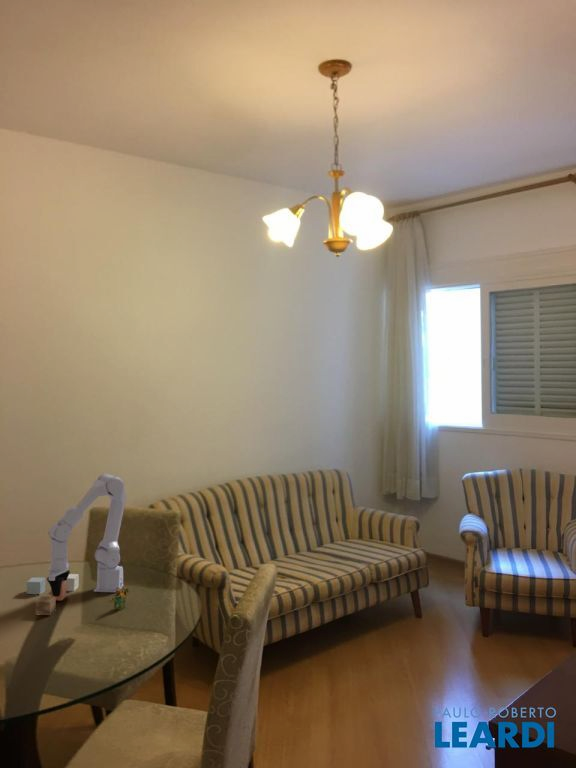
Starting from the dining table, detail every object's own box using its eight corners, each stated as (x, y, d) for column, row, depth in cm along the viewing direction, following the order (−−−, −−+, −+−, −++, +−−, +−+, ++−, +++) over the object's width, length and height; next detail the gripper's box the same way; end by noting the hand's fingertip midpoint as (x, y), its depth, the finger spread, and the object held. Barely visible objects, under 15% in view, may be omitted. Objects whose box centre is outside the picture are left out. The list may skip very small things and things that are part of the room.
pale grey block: (78, 586, 249) (78, 574, 249) (74, 591, 244) (74, 578, 244) (65, 586, 250) (65, 573, 249) (61, 591, 245) (61, 578, 244)
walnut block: (55, 610, 225) (55, 596, 225) (50, 616, 220) (50, 602, 220) (41, 610, 226) (41, 596, 225) (35, 616, 221) (35, 601, 220)
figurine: (132, 604, 233) (132, 582, 232) (111, 616, 222) (111, 593, 221) (124, 603, 234) (125, 581, 234) (104, 615, 223) (104, 591, 222)
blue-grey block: (45, 590, 245) (45, 577, 244) (40, 595, 240) (40, 582, 239) (32, 590, 245) (32, 577, 244) (26, 595, 240) (26, 581, 239)
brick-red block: (65, 596, 237) (66, 580, 237) (61, 600, 233) (62, 584, 233) (55, 596, 237) (55, 580, 237) (51, 600, 233) (51, 583, 233)
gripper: (55, 550, 242) (55, 586, 242) (40, 562, 227) (39, 600, 228) (74, 551, 242) (73, 586, 242) (60, 563, 227) (59, 601, 228)
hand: (58, 593), depth 235 cm, fingers closed on brick-red block, 4 cm apart
